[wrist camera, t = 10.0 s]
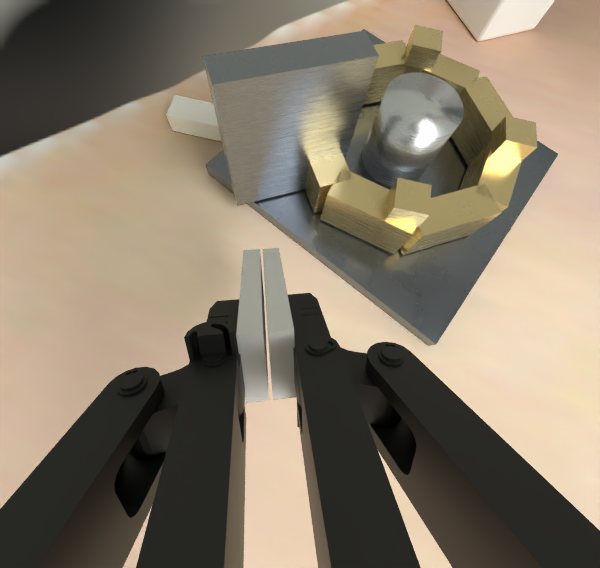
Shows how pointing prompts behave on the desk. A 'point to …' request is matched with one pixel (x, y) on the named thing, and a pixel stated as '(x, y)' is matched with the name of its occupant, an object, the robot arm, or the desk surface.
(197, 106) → the small white rectangular block
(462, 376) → the desk surface
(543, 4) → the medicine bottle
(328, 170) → the block with gold ring
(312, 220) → the housing plate
